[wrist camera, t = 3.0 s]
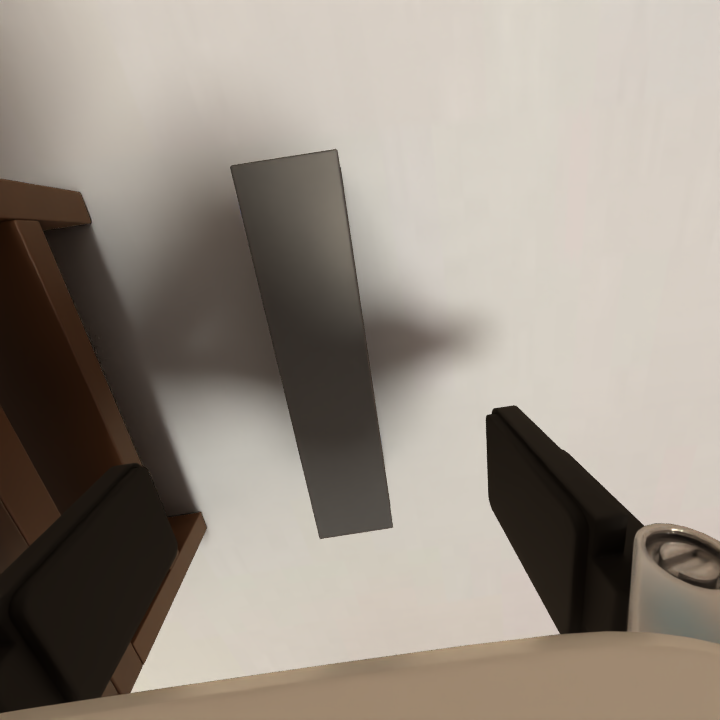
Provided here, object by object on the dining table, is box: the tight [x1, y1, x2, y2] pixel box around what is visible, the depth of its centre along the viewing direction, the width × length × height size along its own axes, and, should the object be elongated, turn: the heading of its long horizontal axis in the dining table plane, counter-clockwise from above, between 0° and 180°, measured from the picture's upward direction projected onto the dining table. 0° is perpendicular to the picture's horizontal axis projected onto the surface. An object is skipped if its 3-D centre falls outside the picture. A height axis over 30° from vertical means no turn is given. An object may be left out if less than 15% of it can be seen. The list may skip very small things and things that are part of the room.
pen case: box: [230, 149, 393, 539], centre depth 18 cm, size 4×18×6 cm, turn 9°
